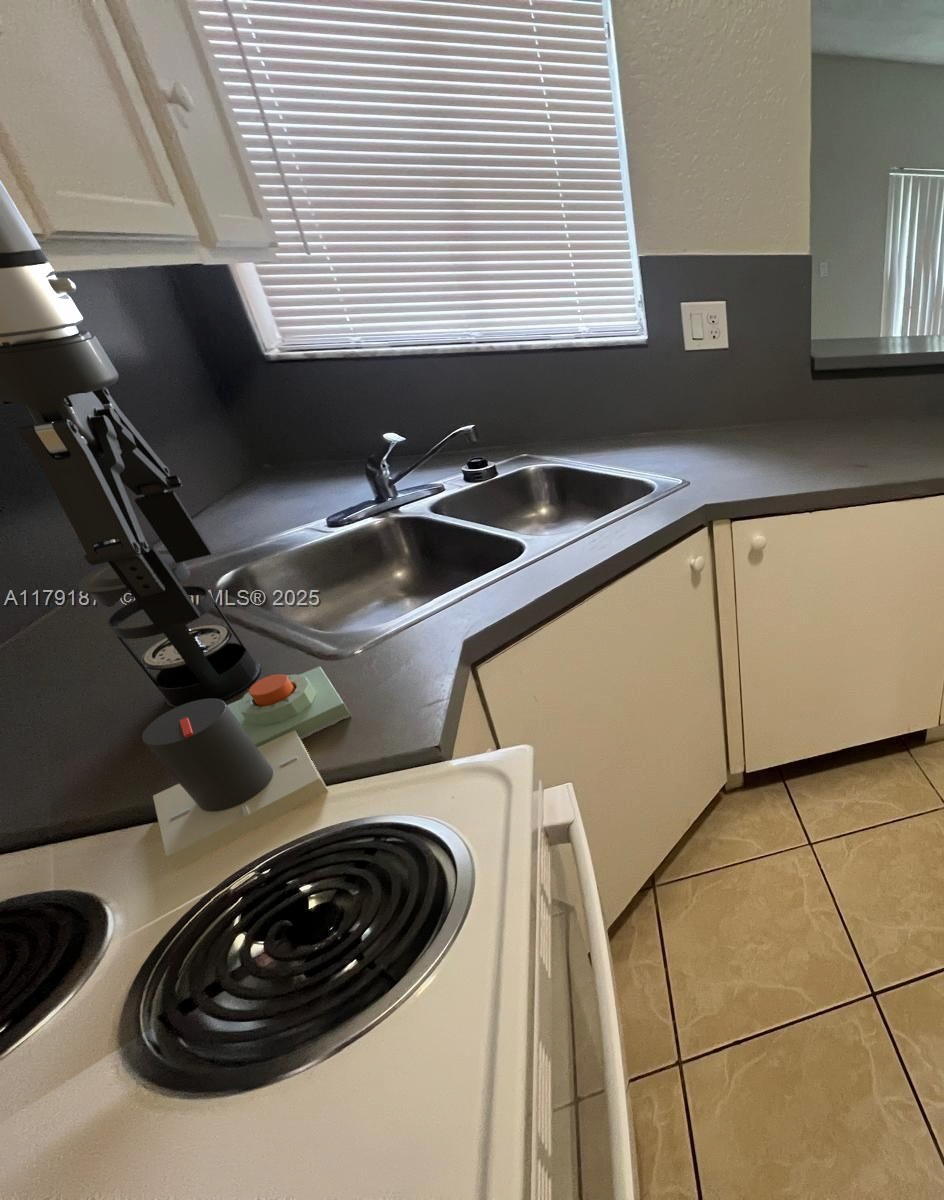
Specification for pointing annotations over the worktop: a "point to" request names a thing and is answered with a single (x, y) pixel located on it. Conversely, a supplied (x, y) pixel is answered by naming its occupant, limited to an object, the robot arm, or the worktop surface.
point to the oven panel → (207, 831)
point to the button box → (291, 709)
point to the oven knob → (209, 754)
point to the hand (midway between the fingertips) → (187, 587)
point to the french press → (179, 643)
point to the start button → (271, 690)
